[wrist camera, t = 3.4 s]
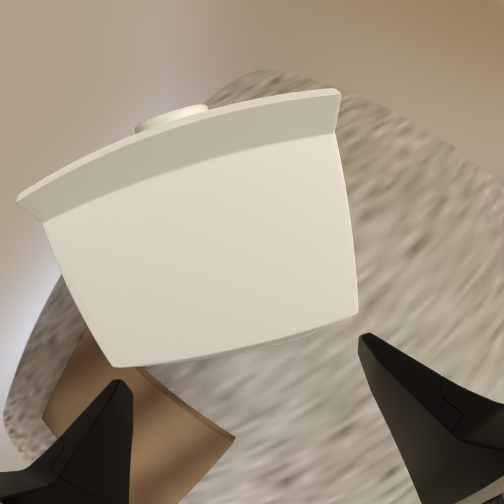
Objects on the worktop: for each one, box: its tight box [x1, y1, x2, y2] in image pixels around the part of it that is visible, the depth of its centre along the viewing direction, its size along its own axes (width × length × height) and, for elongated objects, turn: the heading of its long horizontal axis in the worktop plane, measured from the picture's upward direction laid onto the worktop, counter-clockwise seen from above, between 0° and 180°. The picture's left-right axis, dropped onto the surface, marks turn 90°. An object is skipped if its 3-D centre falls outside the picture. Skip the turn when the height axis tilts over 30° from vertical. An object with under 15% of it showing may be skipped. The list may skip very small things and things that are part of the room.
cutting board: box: [42, 328, 236, 504], centre depth 18 cm, size 16×14×2 cm
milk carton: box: [16, 88, 358, 368], centre depth 13 cm, size 7×7×19 cm
